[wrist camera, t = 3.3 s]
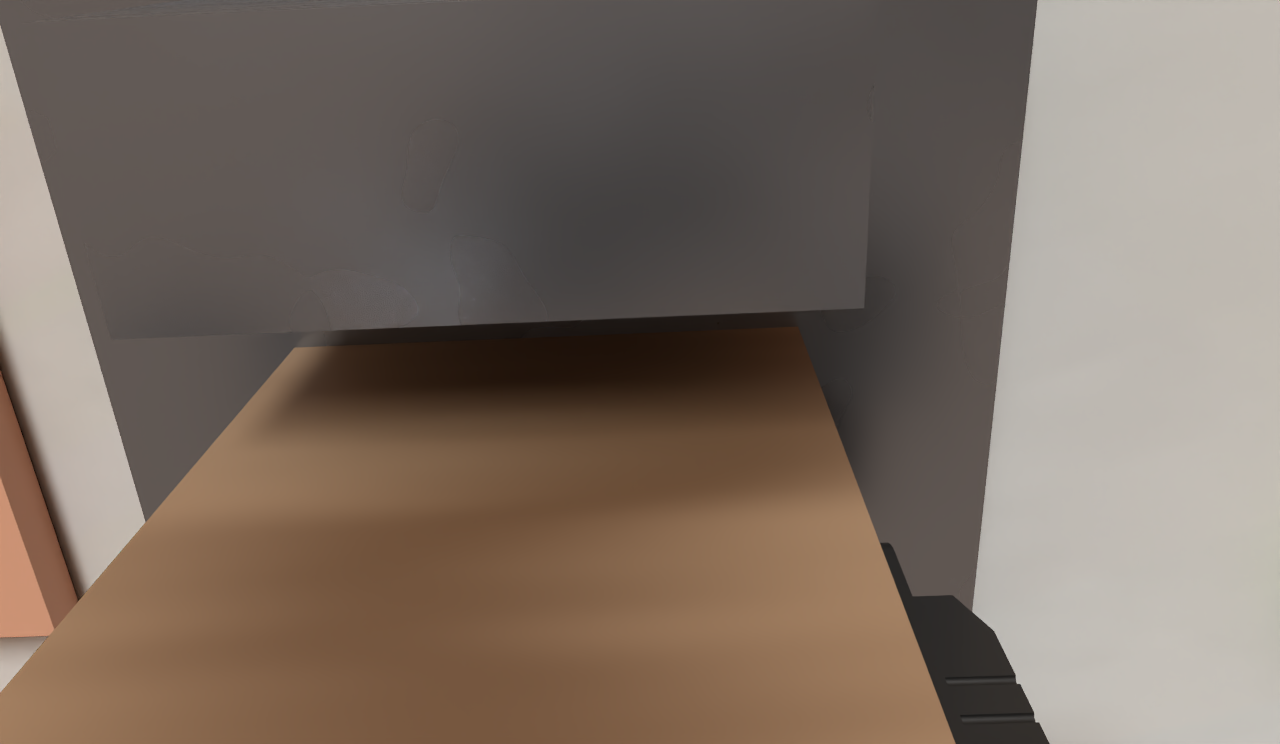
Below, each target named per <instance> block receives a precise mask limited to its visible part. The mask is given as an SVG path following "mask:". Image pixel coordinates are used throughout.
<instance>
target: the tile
mask: <svg viewBox="0 0 1280 744" xmlns="http://www.w3.org/2000/svg"><path fill="white" fill-rule="evenodd" d="M77 602H78V599H77V596H76V593H75V590H74V587H73V584H72V582H71V579H70V576H69V573H68V570H67V567H66V564H65V561H64V558H63V555H62V552H61V549H60V546H59V543H58V540H57V537H56V534H55V531H54V528H53V525H52V522H51V519H50V516H49V513H48V510H47V507H46V504H45V502H44V499H43V496H42V493H41V490H40V487H39V484H38V481H37V478H36V475H35V472H34V469H33V466H32V463H31V460H30V457H29V454H28V451H27V448H26V445H25V442H24V439H23V436H22V433H21V430H20V427H19V424H18V421H17V419H16V416H15V413H14V410H13V407H12V404H11V401H10V398H9V395H8V392H7V389H6V386H5V383H4V380H3V377H2V374H1V371H0V637H27V636H49V635H50V634H51V633H52V632H53V631H54V629H55V628H56V627H57V626H58V625H59V624H60V622H61V621H62V620H63V619H64V618H65V616H66V615H67V614H68V613H69V612H70V611H71V609H72V608H73V607H74V606H75V605H76V604H77Z"/></svg>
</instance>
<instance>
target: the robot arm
mask: <svg viewBox="0 0 1280 744" xmlns="http://www.w3.org/2000/svg"><path fill="white" fill-rule="evenodd" d="M880 545H881V548H882V550H883V553H884V556H885V558H886V561H887V563H888V566H889V569H890V571H891V574H892V577H893V579H894V582H895V585H896V587H897V590H898V593H899V595H900V598H901V601H902V603H903V606H904V608H905V611H906V614H907V616H908V619H909V622H910V624H911V627H912V630H913V632H914V635H915V638H916V640H917V643H918V646H919V648H920V651H921V653H922V656H923V659H924V661H925V664H926V667H927V669H928V672H929V675H930V677H931V680H932V683H933V685H934V688H935V691H936V693H937V696H938V698H939V701H940V704H941V706H942V709H943V712H944V714H945V717H946V720H947V722H948V725H949V728H950V730H951V733H952V736H953V738H954V741H955V743H956V744H1049V742H1048V740H1047V738H1046V736H1045V734H1044V732H1043V730H1042V728H1041V726H1040V724H1039V723H1036V722H1035V719H1034V711H1033V709H1032V707H1031V705H1030V703H1029V701H1028V699H1027V697H1026V695H1025V693H1024V691H1023V689H1022V687H1021V685H1020V684H1017V683H1016V678H1015V676H1016V675H1015V673H1014V671H1013V669H1012V667H1011V665H1010V663H1009V661H1008V659H1007V657H1006V655H1005V653H1004V651H1003V649H1002V647H1001V645H1000V643H999V641H998V639H997V636H996V634H995V632H994V631H993V630H992V629H991V628H990V627H989V626H987V625H986V624H985V623H984V622H983V621H982V620H981V619H979V618H978V617H977V616H976V615H975V614H974V613H973V612H971V611H970V610H969V609H968V608H967V607H966V606H965V605H963V604H962V603H961V602H960V601H959V600H958V599H957V598H955V597H954V596H953V595H940V596H912V594H911V591H910V589H909V586H908V584H907V581H906V578H905V576H904V573H903V571H902V568H901V566H900V563H899V561H898V558H897V556H896V553H895V551H894V549H893V547H892V545H891V544H890V543H888V542H887V543H880Z"/></svg>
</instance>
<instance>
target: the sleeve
mask: <svg viewBox="0 0 1280 744" xmlns="http://www.w3.org/2000/svg"><path fill="white" fill-rule="evenodd" d="M0 744H956V743H955V741H954V738H953V736H952V733H951V730H950V728H949V725H948V722H947V720H946V717H945V714H944V712H943V709H942V706H941V704H940V701H939V698H938V696H937V693H936V691H935V688H934V685H933V683H932V680H931V677H930V675H929V672H928V669H927V667H926V664H925V661H924V659H923V656H922V653H921V651H920V648H919V646H918V643H917V640H916V638H915V635H914V632H913V630H912V627H911V624H910V622H909V619H908V616H907V614H906V611H905V608H904V606H903V603H902V601H901V598H900V595H899V593H898V590H897V587H896V585H895V582H894V579H893V577H892V574H891V571H890V569H889V566H888V563H887V561H886V558H885V556H884V553H883V550H882V548H881V545H880V542H879V540H878V537H877V534H876V532H875V529H874V526H873V524H872V521H871V518H870V516H869V513H868V511H867V508H866V505H865V503H864V500H863V497H862V495H861V492H860V489H859V487H858V484H857V481H856V479H855V476H854V473H853V471H852V468H851V466H850V463H849V460H848V458H847V455H846V452H845V450H844V447H843V444H842V442H841V439H840V436H839V434H838V431H837V428H836V426H835V423H834V421H833V418H832V415H831V413H830V410H829V407H828V405H827V402H826V399H825V397H824V394H823V391H822V389H821V386H820V383H819V381H818V378H817V376H816V373H815V370H814V368H813V365H812V362H811V360H810V357H809V354H808V352H807V349H806V346H805V344H804V341H803V338H802V336H801V333H800V331H799V328H798V327H779V328H755V329H731V330H706V331H682V332H658V333H634V334H610V335H586V336H562V337H538V338H514V339H490V340H466V341H442V342H418V343H393V344H369V345H345V346H321V347H297V348H294V349H293V350H292V351H291V352H290V354H289V355H288V356H287V357H286V358H285V359H284V361H283V362H282V363H281V364H280V365H279V366H278V368H277V369H276V370H275V371H274V372H273V374H272V375H271V376H270V377H269V378H268V379H267V381H266V382H265V383H264V384H263V385H262V386H261V388H260V389H259V390H258V391H257V392H256V393H255V395H254V396H253V397H252V398H251V399H250V401H249V402H248V403H247V404H246V405H245V406H244V408H243V409H242V410H241V411H240V412H239V413H238V415H237V416H236V417H235V418H234V419H233V420H232V422H231V423H230V424H229V425H228V426H227V428H226V429H225V430H224V431H223V432H222V433H221V435H220V436H219V437H218V438H217V439H216V440H215V442H214V443H213V444H212V445H211V446H210V447H209V449H208V450H207V451H206V452H205V453H204V455H203V456H202V457H201V458H200V459H199V460H198V462H197V463H196V464H195V465H194V466H193V467H192V469H191V470H190V471H189V472H188V473H187V474H186V476H185V477H184V478H183V479H182V480H181V482H180V483H179V484H178V485H177V486H176V487H175V489H174V490H173V491H172V492H171V493H170V494H169V496H168V497H167V498H166V499H165V500H164V501H163V503H162V504H161V505H160V506H159V507H158V508H157V510H156V511H155V512H154V513H153V514H152V516H151V517H150V518H149V519H148V520H147V521H146V523H145V524H144V525H143V526H142V527H141V528H140V530H139V531H138V532H137V533H136V534H135V535H134V537H133V538H132V539H131V540H130V541H129V543H128V544H127V545H126V546H125V547H124V548H123V550H122V551H121V552H120V553H119V554H118V555H117V557H116V558H115V559H114V560H113V561H112V562H111V564H110V565H109V566H108V567H107V568H106V570H105V571H104V572H103V573H102V574H101V575H100V577H99V578H98V579H97V580H96V581H95V582H94V584H93V585H92V586H91V587H90V588H89V589H88V591H87V592H86V593H85V594H84V595H83V597H82V598H81V599H80V600H79V601H78V602H77V604H76V605H75V606H74V607H73V608H72V609H71V611H70V612H69V613H68V614H67V615H66V616H65V618H64V619H63V620H62V621H61V622H60V624H59V625H58V626H57V627H56V628H55V629H54V631H53V632H52V633H51V634H50V635H49V636H48V638H47V639H46V640H45V641H44V642H43V643H42V645H41V646H40V647H39V648H38V649H37V651H36V652H35V653H34V654H33V655H32V656H31V658H30V659H29V660H28V661H27V662H26V663H25V665H24V666H23V667H22V668H21V669H20V670H19V672H18V673H17V674H16V675H15V676H14V677H13V679H12V680H11V681H10V682H9V683H8V685H7V686H6V687H5V688H4V689H3V690H2V692H1V693H0Z"/></svg>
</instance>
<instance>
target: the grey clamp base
mask: <svg viewBox="0 0 1280 744" xmlns="http://www.w3.org/2000/svg"><path fill="white" fill-rule="evenodd" d="M1036 9H1037V0H0V25H1V29H2V32H3V36H4V39H5V42H6V46H7V49H8V53H9V56H10V59H11V63H12V66H13V70H14V73H15V77H16V80H17V83H18V87H19V90H20V94H21V97H22V101H23V104H24V107H25V111H26V114H27V118H28V121H29V124H30V128H31V131H32V135H33V138H34V142H35V145H36V148H37V152H38V155H39V159H40V162H41V166H42V169H43V172H44V176H45V179H46V183H47V186H48V189H49V193H50V196H51V200H52V203H53V207H54V210H55V213H56V217H57V220H58V224H59V227H60V231H61V234H62V237H63V241H64V244H65V248H66V251H67V254H68V258H69V261H70V265H71V268H72V272H73V275H74V278H75V282H76V285H77V289H78V292H79V295H80V299H81V302H82V306H83V309H84V313H85V316H86V319H87V323H88V326H89V330H90V333H91V337H92V340H93V343H94V347H95V350H96V354H97V357H98V360H99V364H100V367H101V371H102V374H103V378H104V381H105V384H106V388H107V391H108V395H109V398H110V402H111V405H112V408H113V412H114V415H115V419H116V422H117V425H118V429H119V432H120V436H121V439H122V443H123V446H124V449H125V453H126V456H127V460H128V463H129V467H130V470H131V473H132V477H133V480H134V484H135V487H136V490H137V494H138V497H139V501H140V504H141V508H142V511H143V514H144V518H145V521H147V520H148V519H149V518H150V517H151V516H152V514H153V513H154V512H155V511H156V510H157V508H158V507H159V506H160V505H161V504H162V503H163V501H164V500H165V499H166V498H167V497H168V496H169V494H170V493H171V492H172V491H173V490H174V489H175V487H176V486H177V485H178V484H179V483H180V482H181V480H182V479H183V478H184V477H185V476H186V474H187V473H188V472H189V471H190V470H191V469H192V467H193V466H194V465H195V464H196V463H197V462H198V460H199V459H200V458H201V457H202V456H203V455H204V453H205V452H206V451H207V450H208V449H209V447H210V446H211V445H212V444H213V443H214V442H215V440H216V439H217V438H218V437H219V436H220V435H221V433H222V432H223V431H224V430H225V429H226V428H227V426H228V425H229V424H230V423H231V422H232V420H233V419H234V418H235V417H236V416H237V415H238V413H239V412H240V411H241V410H242V409H243V408H244V406H245V405H246V404H247V403H248V402H249V401H250V399H251V398H252V397H253V396H254V395H255V393H256V392H257V391H258V390H259V389H260V388H261V386H262V385H263V384H264V383H265V382H266V381H267V379H268V378H269V377H270V376H271V375H272V374H273V372H274V371H275V370H276V369H277V368H278V366H279V365H280V364H281V363H282V362H283V361H284V359H285V358H286V357H287V356H288V355H289V354H290V352H291V351H292V350H293V349H294V348H297V347H321V346H345V345H369V344H393V343H418V342H442V341H466V340H490V339H514V338H538V337H562V336H586V335H610V334H634V333H658V332H682V331H706V330H731V329H755V328H779V327H798V328H799V331H800V333H801V336H802V338H803V341H804V344H805V346H806V349H807V352H808V354H809V357H810V360H811V362H812V365H813V368H814V370H815V373H816V376H817V378H818V381H819V383H820V386H821V389H822V391H823V394H824V397H825V399H826V402H827V405H828V407H829V410H830V413H831V415H832V418H833V421H834V423H835V426H836V428H837V431H838V434H839V436H840V439H841V442H842V444H843V447H844V450H845V452H846V455H847V458H848V460H849V463H850V466H851V468H852V471H853V473H854V476H855V479H856V481H857V484H858V487H859V489H860V492H861V495H862V497H863V500H864V503H865V505H866V508H867V511H868V513H869V516H870V518H871V521H872V524H873V526H874V529H875V532H876V534H877V537H878V540H879V542H880V543H887V542H888V543H890V544H891V545H892V547H893V549H894V551H895V553H896V556H897V558H898V561H899V563H900V566H901V568H902V571H903V573H904V576H905V578H906V581H907V584H908V586H909V589H910V591H911V594H912V596H940V595H953V596H954V597H955V598H957V599H958V600H959V601H960V602H961V603H962V604H963V605H965V606H966V607H967V608H968V609H969V610H970V611H971V612H972V607H973V597H974V588H975V579H976V569H977V560H978V551H979V541H980V532H981V523H982V513H983V504H984V495H985V485H986V476H987V467H988V457H989V448H990V439H991V429H992V420H993V411H994V401H995V392H996V383H997V373H998V364H999V354H1000V345H1001V336H1002V326H1003V317H1004V308H1005V298H1006V289H1007V280H1008V270H1009V261H1010V252H1011V242H1012V233H1013V224H1014V214H1015V205H1016V196H1017V186H1018V177H1019V168H1020V158H1021V149H1022V140H1023V130H1024V121H1025V112H1026V102H1027V93H1028V84H1029V74H1030V65H1031V56H1032V46H1033V37H1034V28H1035V18H1036Z"/></svg>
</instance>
